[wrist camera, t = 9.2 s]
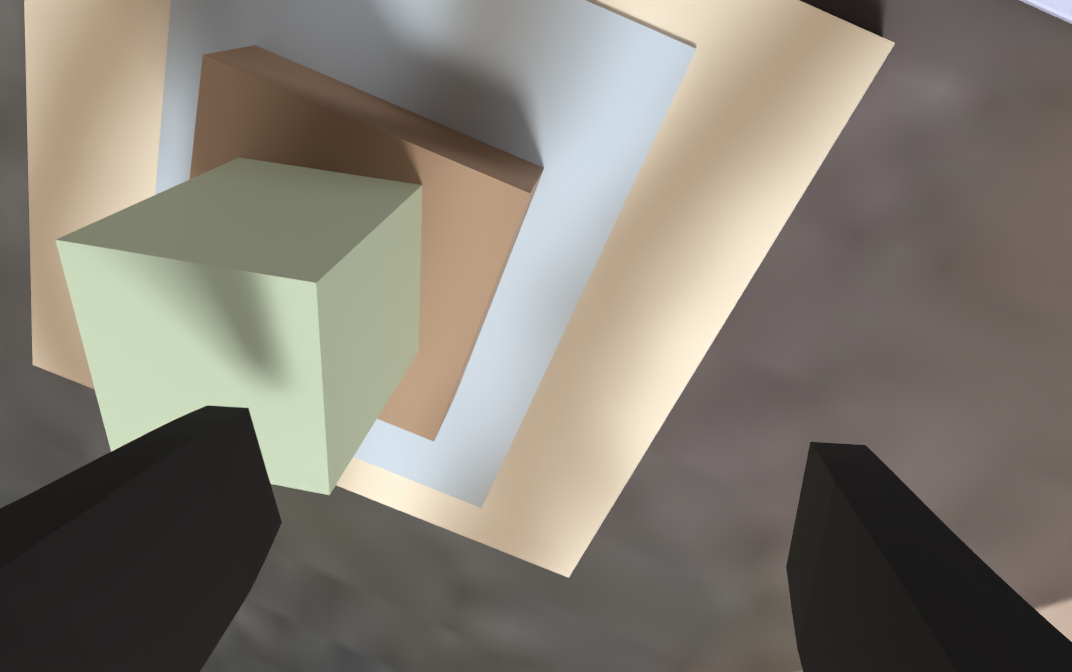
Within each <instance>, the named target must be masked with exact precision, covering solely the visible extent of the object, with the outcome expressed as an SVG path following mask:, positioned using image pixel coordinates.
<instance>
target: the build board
mask: <svg viewBox="0 0 1072 672" xmlns="http://www.w3.org/2000/svg"><path fill="white" fill-rule="evenodd" d="M24 6H25V49H26V92H27V135H28V178H29V221H30V264H31V308H32V351H33V365H35V366H37V367H40V368H42V369H45V370H47V371H50V372H52V373H55V374H57V375H60V376H62V377H65V378H68V379H70V380H73V381H75V382H78V383H80V384H83V385H85V386H88V387H90V388H93V389H95V388H94V384H93V381H92V377H91V373H90V369H89V365H88V362H87V358H86V354H85V350H84V346H83V343H82V339H81V335H80V331H79V328H78V324H77V320H76V316H75V312H74V309H73V305H72V301H71V297H70V293H69V290H68V286H67V282H66V278H65V274H64V271H63V267H62V263H61V259H60V255H59V252H58V248H57V244H56V239H58V238H60V237H63V236H65V235H67V234H69V233H71V232H74V231H76V230H78V229H80V228H83V227H85V226H87V225H89V224H92V223H94V222H96V221H98V220H100V219H103V218H105V217H107V216H109V215H112V214H114V213H116V212H118V211H121V210H123V209H125V208H127V207H129V206H132V205H134V204H136V203H138V202H141V201H143V200H145V199H147V198H150V197H152V196H154V195H156V194H158V193H161V192H163V191H165V190H167V189H170V188H172V187H174V186H176V185H179V184H181V183H183V182H185V181H187V180H190V179H192V178H194V177H196V176H199V175H201V174H203V173H205V172H208V171H210V170H212V169H214V168H216V167H219V166H221V165H223V164H225V163H228V162H230V161H232V160H234V159H237V158H246V159H253V160H259V161H266V162H273V163H279V164H286V165H292V166H299V167H306V168H312V169H319V170H326V171H332V172H339V173H346V174H352V175H359V176H365V177H372V178H379V179H385V180H392V181H399V182H405V183H412V184H419V185H422V227H421V274H420V322H419V352H418V353H417V355H416V356H415V358H414V360H413V361H412V363H411V365H410V366H409V368H408V369H407V371H406V373H405V374H404V376H403V377H402V379H401V381H400V382H399V384H398V385H397V387H396V389H395V390H394V392H393V394H392V395H391V397H390V398H389V400H388V402H387V403H386V405H385V406H384V408H383V410H382V411H381V413H380V415H379V416H378V418H377V419H376V421H375V423H374V424H373V426H372V427H371V429H370V431H369V432H368V434H367V435H366V437H365V439H364V440H363V442H362V444H361V445H360V447H359V448H358V450H357V452H356V453H355V455H354V456H353V458H352V460H351V461H350V463H349V464H348V466H347V468H346V469H345V471H344V473H343V474H342V476H341V477H340V479H339V481H338V482H337V484H336V485H337V486H339V487H342V488H344V489H347V490H349V491H352V492H354V493H357V494H359V495H362V496H365V497H367V498H370V499H372V500H375V501H377V502H380V503H382V504H385V505H387V506H390V507H392V508H395V509H397V510H400V511H402V512H405V513H407V514H410V515H412V516H415V517H417V518H420V519H422V520H425V521H427V522H430V523H432V524H435V525H438V526H440V527H443V528H445V529H448V530H450V531H453V532H455V533H458V534H460V535H463V536H465V537H468V538H470V539H473V540H475V541H478V542H480V543H483V544H485V545H488V546H490V547H493V548H495V549H498V550H500V551H503V552H505V553H508V554H510V555H513V556H516V557H518V558H521V559H523V560H526V561H528V562H531V563H533V564H536V565H538V566H541V567H543V568H546V569H548V570H551V571H553V572H556V573H558V574H561V575H563V576H566V577H568V578H569V576H570V575H571V573H572V571H573V570H574V568H575V566H576V565H577V563H578V561H579V560H580V558H581V557H582V555H583V553H584V552H585V550H586V548H587V547H588V545H589V543H590V542H591V540H592V539H593V537H594V535H595V534H596V532H597V530H598V529H599V527H600V525H601V524H602V522H603V521H604V519H605V517H606V516H607V514H608V512H609V511H610V509H611V507H612V506H613V504H614V503H615V501H616V499H617V498H618V496H619V494H620V493H621V491H622V489H623V488H624V486H625V485H626V483H627V481H628V480H629V478H630V476H631V475H632V473H633V471H634V470H635V468H636V467H637V465H638V463H639V462H640V460H641V458H642V457H643V455H644V453H645V452H646V450H647V449H648V447H649V445H650V444H651V442H652V440H653V439H654V437H655V435H656V434H657V432H658V431H659V429H660V427H661V426H662V424H663V422H664V421H665V419H666V417H667V416H668V414H669V413H670V411H671V409H672V408H673V406H674V404H675V403H676V401H677V399H678V398H679V396H680V395H681V393H682V391H683V390H684V388H685V386H686V385H687V383H688V381H689V380H690V378H691V376H692V375H693V373H694V372H695V370H696V368H697V367H698V365H699V363H700V362H701V360H702V358H703V357H704V355H705V354H706V352H707V350H708V349H709V347H710V345H711V344H712V342H713V340H714V339H715V337H716V336H717V334H718V332H719V331H720V329H721V327H722V326H723V324H724V322H725V321H726V319H727V318H728V316H729V314H730V313H731V311H732V309H733V308H734V306H735V304H736V303H737V301H738V300H739V298H740V296H741V295H742V293H743V291H744V290H745V288H746V286H747V285H748V283H749V282H750V280H751V278H752V277H753V275H754V273H755V272H756V270H757V268H758V267H759V265H760V264H761V262H762V260H763V259H764V257H765V255H766V254H767V252H768V250H769V249H770V247H771V246H772V244H773V242H774V241H775V239H776V237H777V236H778V234H779V232H780V231H781V229H782V228H783V226H784V224H785V223H786V221H787V219H788V218H789V216H790V214H791V213H792V211H793V210H794V208H795V206H796V205H797V203H798V201H799V200H800V198H801V196H802V195H803V193H804V192H805V190H806V188H807V187H808V185H809V183H810V182H811V180H812V178H813V177H814V175H815V174H816V172H817V170H818V169H819V167H820V165H821V164H822V162H823V160H824V159H825V157H826V156H827V154H828V152H829V151H830V149H831V147H832V146H833V144H834V142H835V141H836V139H837V137H838V136H839V134H840V133H841V131H842V129H843V128H844V126H845V124H846V123H847V121H848V119H849V118H850V116H851V115H852V113H853V111H854V110H855V108H856V106H857V105H858V103H859V101H860V100H861V98H862V97H863V95H864V93H865V92H866V90H867V88H868V87H869V85H870V83H871V82H872V80H873V79H874V77H875V75H876V74H877V72H878V70H879V69H880V67H881V65H882V64H883V62H884V61H885V59H886V57H887V56H888V54H889V52H890V51H891V49H892V47H893V46H894V44H895V43H894V42H891V41H889V40H887V39H885V38H883V37H880V36H878V35H876V34H874V33H871V32H869V31H867V30H865V29H862V28H860V27H858V26H856V25H853V24H851V23H849V22H847V21H844V20H842V19H840V18H838V17H835V16H833V15H831V14H829V13H827V12H824V11H822V10H820V9H818V8H815V7H813V6H811V5H809V4H806V3H804V2H802V1H800V0H24Z"/></svg>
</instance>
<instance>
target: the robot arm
mask: <svg viewBox="0 0 1072 672" xmlns="http://www.w3.org/2000/svg"><path fill="white" fill-rule="evenodd" d="M1020 1H1022V2H1025V3H1027V4H1029V5H1031V6H1033V7H1036V8H1038V9H1040V10H1042V11H1044V12H1047V13H1049V14H1051V15H1053V16H1055V17H1058V18H1060V19H1062V20H1064V21H1066V22H1069V23H1071V24H1072V0H1020ZM281 523H282V522H281V519H280V515H279V512H278V508H277V505H276V501H275V498H274V494H273V491H272V488H271V484H270V481H269V477H268V474H267V470H266V467H265V463H264V460H263V456H262V453H261V450H260V446H259V443H258V439H257V436H256V432H255V429H254V425H253V422H252V418H251V415H250V412H249V408H242V407H225V406H209V405H207V406H205V407H202V408H200V409H198V410H195V411H193V412H190V413H188V414H186V415H184V416H181V417H179V418H177V419H175V420H173V421H171V422H169V423H167V424H165V425H163V426H161V427H159V428H157V429H155V430H153V431H150V432H148V433H147V434H145V435H143V436H141V437H139V438H137V439H135V440H133V441H131V442H129V443H127V444H125V445H123V446H121V447H119V448H117V449H115V450H114V451H112V452H110V453H108V454H106V455H104V456H102V457H100V458H98V459H96V460H94V461H92V462H90V463H89V464H87V465H85V466H83V467H81V468H79V469H77V470H75V471H73V472H71V473H69V474H67V475H65V476H64V477H62V478H60V479H58V480H56V481H54V482H52V483H50V484H48V485H46V486H44V487H42V488H40V489H39V490H37V491H35V492H33V493H31V494H29V495H27V496H25V497H23V498H21V499H19V500H17V501H15V502H13V503H11V504H9V505H7V506H5V507H3V508H1V509H0V672H200V670H201V669H202V667H203V666H204V664H205V662H206V661H207V659H208V658H209V656H210V655H211V653H212V652H213V650H214V648H215V647H216V645H217V644H218V642H219V640H220V639H221V637H222V636H223V634H224V632H225V631H226V629H227V628H228V626H229V624H230V623H231V621H232V620H233V618H234V616H235V615H236V613H237V612H238V610H239V608H240V607H241V605H242V603H243V602H244V600H245V598H246V597H247V595H248V593H249V592H250V590H251V588H252V586H253V584H254V582H255V580H256V578H257V576H258V574H259V571H260V569H261V567H262V565H263V563H264V561H265V559H266V557H267V555H268V552H269V550H270V548H271V545H272V543H273V541H274V539H275V536H276V534H277V532H278V530H279V527H280V525H281ZM786 568H787V576H788V583H789V591H790V599H791V607H792V614H793V621H794V628H795V634H796V641H797V648H798V652H799V656H800V661H801V665H802V669H803V672H1072V642H1071V641H1070V640H1069V639H1067V638H1066V637H1065V636H1064V635H1063V634H1062V633H1061V632H1059V631H1058V630H1057V629H1056V628H1055V627H1054V626H1053V625H1052V624H1050V623H1049V622H1048V621H1047V620H1046V619H1045V618H1044V617H1043V616H1041V615H1040V614H1039V613H1038V612H1037V611H1036V610H1035V609H1034V608H1033V607H1032V606H1031V605H1029V604H1028V603H1027V602H1026V601H1025V600H1024V599H1023V598H1022V597H1021V596H1020V595H1018V594H1017V593H1016V592H1015V591H1014V590H1013V589H1012V588H1011V587H1010V586H1009V585H1008V584H1007V583H1006V582H1004V581H1003V580H1002V579H1001V578H1000V577H999V576H998V575H997V574H996V573H995V572H994V571H993V570H992V569H991V568H990V567H989V566H988V565H986V564H985V563H984V562H983V561H982V560H981V559H980V558H979V557H978V556H977V555H976V554H975V553H974V552H973V551H972V550H971V549H970V548H969V547H968V546H967V545H966V544H965V543H964V542H963V541H962V540H960V539H959V538H958V537H957V536H956V535H955V534H954V533H953V532H952V531H951V530H950V529H949V528H948V527H947V526H946V525H945V524H944V523H943V522H942V521H941V520H940V519H939V518H938V517H937V516H936V515H935V514H934V513H933V512H932V511H931V510H930V509H929V508H928V507H927V506H926V505H925V504H924V503H923V502H922V501H921V500H920V499H919V498H918V497H917V496H916V495H915V494H914V493H913V492H912V491H911V490H910V489H909V488H908V487H907V486H906V485H905V484H904V483H903V482H902V481H901V480H900V479H899V478H898V477H897V476H896V475H895V474H894V473H893V472H892V471H891V470H890V469H889V468H888V467H887V466H886V465H885V464H884V463H883V462H882V461H881V460H880V459H879V458H878V457H877V456H876V455H875V454H874V453H873V452H872V451H871V450H870V449H869V448H868V447H867V446H866V445H852V444H836V443H819V442H810V447H809V452H808V457H807V462H806V468H805V473H804V478H803V483H802V488H801V494H800V499H799V504H798V509H797V514H796V520H795V525H794V530H793V535H792V540H791V546H790V551H789V556H788V561H787V566H786Z"/></svg>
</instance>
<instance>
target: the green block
mask: <svg viewBox="0 0 1072 672" xmlns="http://www.w3.org/2000/svg"><path fill="white" fill-rule="evenodd" d="M421 227H422V185H419V184H412V183H405V182H399V181H392V180H385V179H379V178H372V177H365V176H359V175H352V174H346V173H339V172H332V171H326V170H319V169H312V168H306V167H299V166H292V165H286V164H279V163H273V162H266V161H259V160H253V159H246V158H237V159H234V160H232V161H230V162H228V163H225V164H223V165H221V166H219V167H216V168H214V169H212V170H210V171H208V172H205V173H203V174H201V175H199V176H196V177H194V178H192V179H190V180H187V181H185V182H183V183H181V184H179V185H176V186H174V187H172V188H170V189H167V190H165V191H163V192H161V193H158V194H156V195H154V196H152V197H150V198H147V199H145V200H143V201H141V202H138V203H136V204H134V205H132V206H129V207H127V208H125V209H123V210H121V211H118V212H116V213H114V214H112V215H109V216H107V217H105V218H103V219H100V220H98V221H96V222H94V223H92V224H89V225H87V226H85V227H83V228H80V229H78V230H76V231H74V232H71V233H69V234H67V235H65V236H63V237H60V238H58V239H56V244H57V248H58V252H59V255H60V259H61V263H62V267H63V271H64V274H65V278H66V282H67V286H68V290H69V293H70V297H71V301H72V305H73V309H74V312H75V316H76V320H77V324H78V328H79V331H80V335H81V339H82V343H83V346H84V350H85V354H86V358H87V362H88V365H89V369H90V373H91V377H92V381H93V384H94V388H95V392H96V396H97V400H98V403H99V407H100V411H101V415H102V419H103V422H104V426H105V430H106V434H107V437H108V441H109V445H110V449H111V452H112V451H114V450H115V449H117V448H119V447H121V446H123V445H125V444H127V443H129V442H131V441H133V440H135V439H137V438H139V437H141V436H143V435H145V434H147V433H148V432H150V431H153V430H155V429H157V428H159V427H161V426H163V425H165V424H167V423H169V422H171V421H173V420H175V419H177V418H179V417H181V416H184V415H186V414H188V413H190V412H193V411H195V410H198V409H200V408H202V407H205V406H207V405H209V406H225V407H242V408H249V412H250V415H251V418H252V422H253V425H254V429H255V432H256V436H257V439H258V443H259V446H260V450H261V453H262V456H263V460H264V463H265V467H266V470H267V474H268V477H269V481H270V484H275V485H280V486H285V487H290V488H296V489H301V490H306V491H311V492H316V493H322V494H327V495H330V493H331V492H332V490H333V489H334V487H335V485H336V484H337V482H338V481H339V479H340V477H341V476H342V474H343V473H344V471H345V469H346V468H347V466H348V464H349V463H350V461H351V460H352V458H353V456H354V455H355V453H356V452H357V450H358V448H359V447H360V445H361V444H362V442H363V440H364V439H365V437H366V435H367V434H368V432H369V431H370V429H371V427H372V426H373V424H374V423H375V421H376V419H377V418H378V416H379V415H380V413H381V411H382V410H383V408H384V406H385V405H386V403H387V402H388V400H389V398H390V397H391V395H392V394H393V392H394V390H395V389H396V387H397V385H398V384H399V382H400V381H401V379H402V377H403V376H404V374H405V373H406V371H407V369H408V368H409V366H410V365H411V363H412V361H413V360H414V358H415V356H416V355H417V353H418V352H419V322H420V274H421Z"/></svg>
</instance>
